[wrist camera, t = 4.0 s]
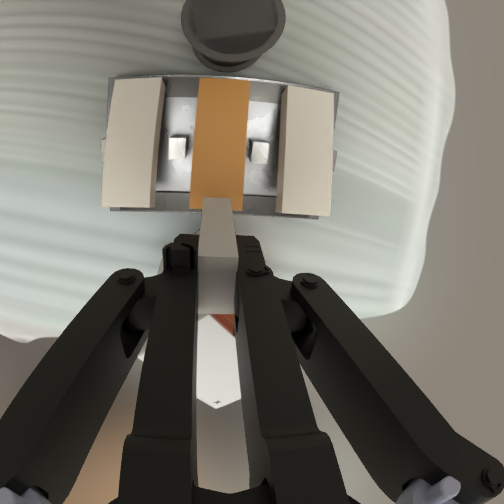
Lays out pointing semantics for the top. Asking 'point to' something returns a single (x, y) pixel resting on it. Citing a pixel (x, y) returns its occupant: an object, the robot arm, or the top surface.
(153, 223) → the top surface
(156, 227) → the top surface
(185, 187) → the plate
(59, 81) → the top surface
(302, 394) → the robot arm
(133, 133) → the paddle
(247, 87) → the paddle mid
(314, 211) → the beige rectangular tile
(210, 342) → the small box
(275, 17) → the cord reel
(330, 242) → the top surface
